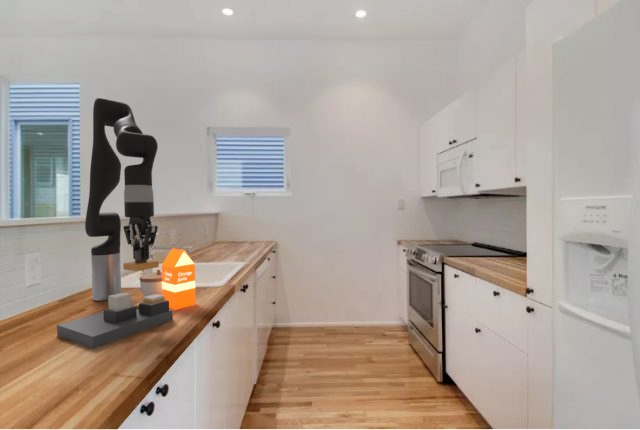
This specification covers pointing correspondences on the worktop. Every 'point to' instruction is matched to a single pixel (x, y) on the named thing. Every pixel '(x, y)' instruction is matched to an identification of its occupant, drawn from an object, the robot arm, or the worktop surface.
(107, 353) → the worktop surface
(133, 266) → the cap
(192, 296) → the orange juice
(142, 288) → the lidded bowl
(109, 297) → the breaker plain
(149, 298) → the breaker tagged
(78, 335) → the breaker panel
